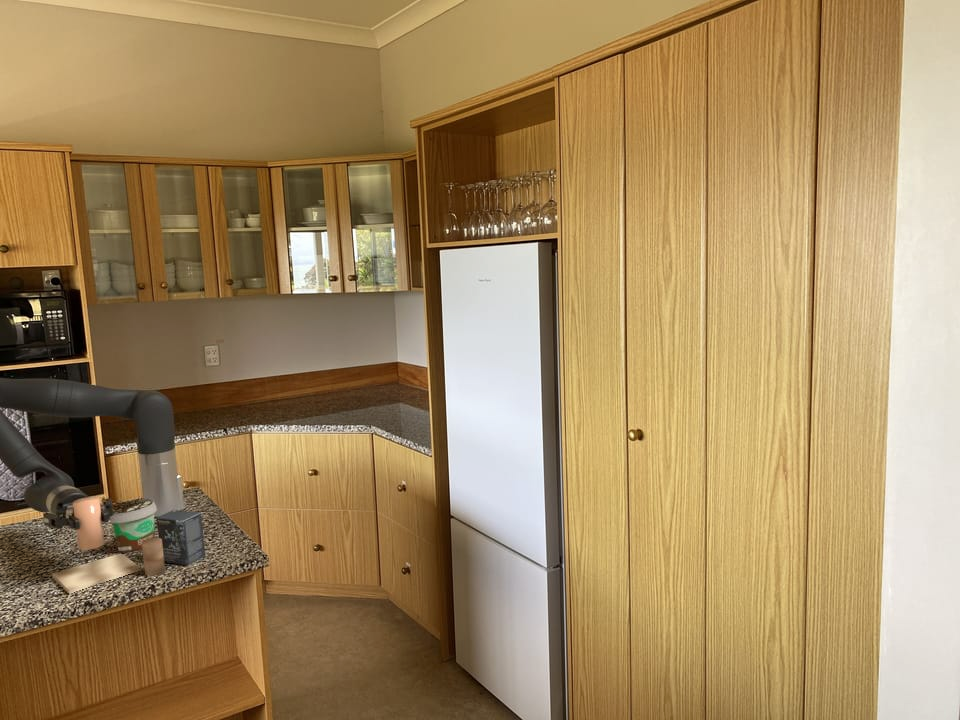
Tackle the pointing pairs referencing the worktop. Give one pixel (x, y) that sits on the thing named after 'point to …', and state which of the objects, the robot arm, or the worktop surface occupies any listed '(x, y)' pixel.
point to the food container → (134, 526)
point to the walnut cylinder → (153, 556)
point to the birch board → (95, 573)
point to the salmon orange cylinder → (89, 523)
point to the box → (181, 536)
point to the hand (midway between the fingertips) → (92, 521)
